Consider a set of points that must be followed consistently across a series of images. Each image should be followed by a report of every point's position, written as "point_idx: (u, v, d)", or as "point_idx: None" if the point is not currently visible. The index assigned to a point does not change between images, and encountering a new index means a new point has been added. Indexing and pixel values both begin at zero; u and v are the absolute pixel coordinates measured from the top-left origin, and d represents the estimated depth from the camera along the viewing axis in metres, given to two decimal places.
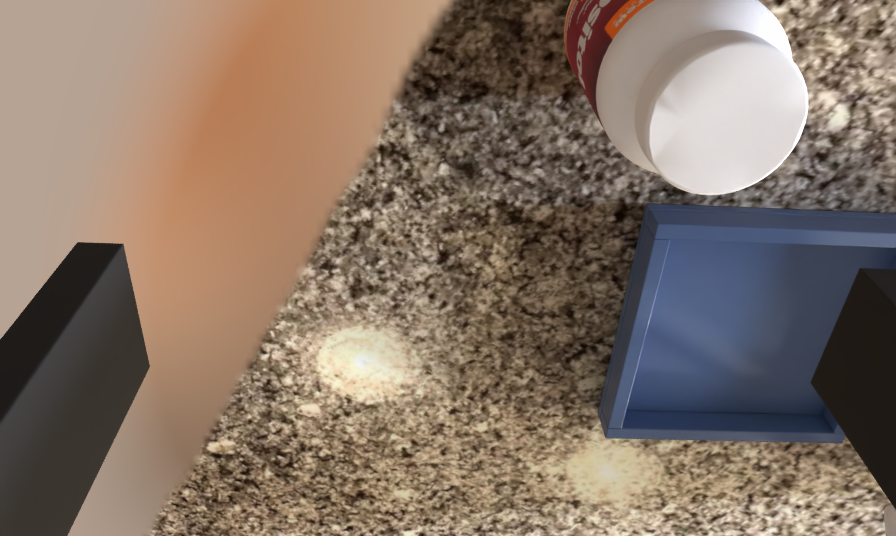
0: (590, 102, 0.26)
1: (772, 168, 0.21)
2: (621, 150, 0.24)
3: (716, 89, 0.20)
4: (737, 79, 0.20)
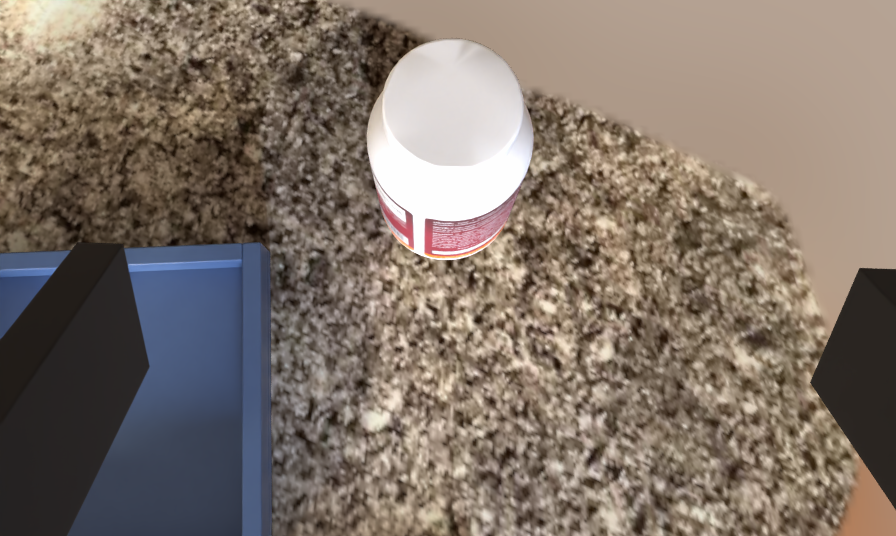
0: None
1: (415, 154, 0.23)
2: None
3: (482, 86, 0.24)
4: (492, 100, 0.23)
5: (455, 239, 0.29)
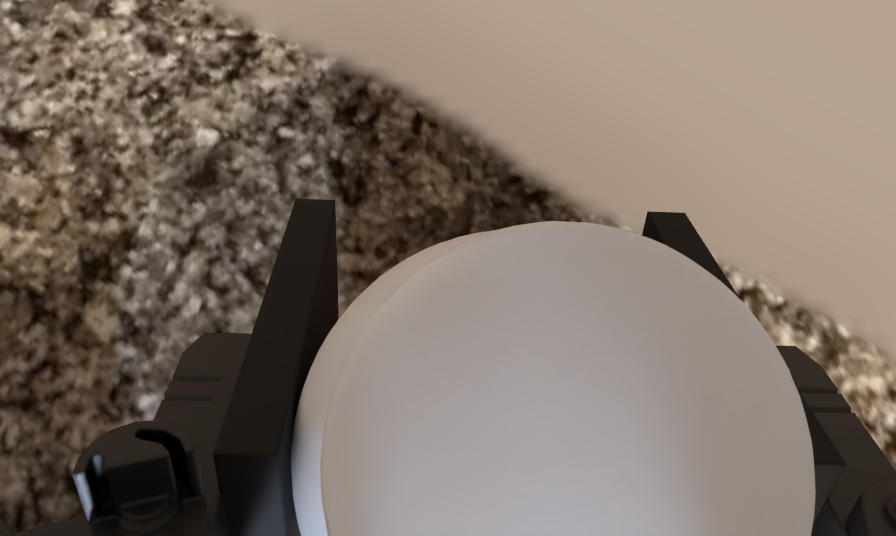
0: None
1: None
2: (368, 290, 0.10)
3: (676, 402, 0.07)
4: (710, 459, 0.07)
5: None
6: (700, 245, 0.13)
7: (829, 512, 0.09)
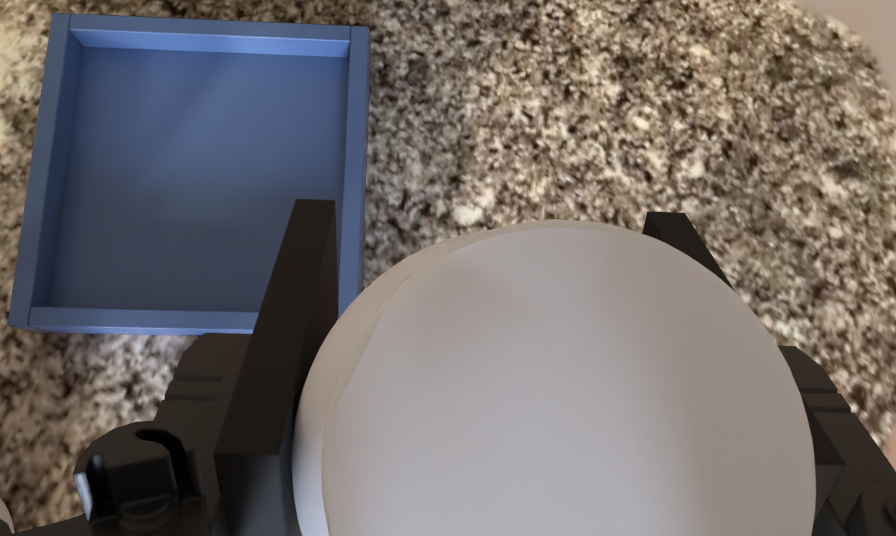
0: None
1: None
2: (369, 289, 0.10)
3: (677, 401, 0.07)
4: (710, 457, 0.07)
5: None
6: (700, 245, 0.13)
7: (830, 513, 0.09)
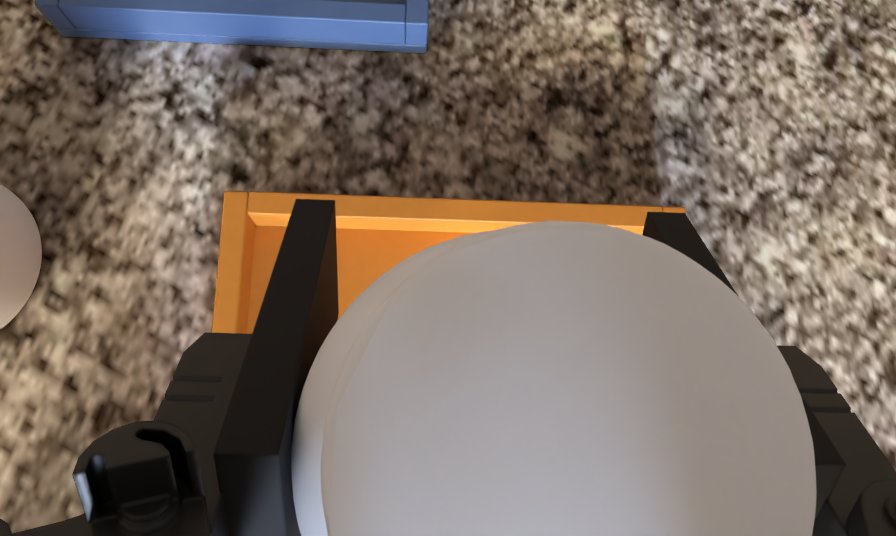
0: None
1: None
2: (369, 290, 0.10)
3: (676, 403, 0.07)
4: (711, 459, 0.07)
5: None
6: (700, 245, 0.13)
7: (829, 512, 0.09)
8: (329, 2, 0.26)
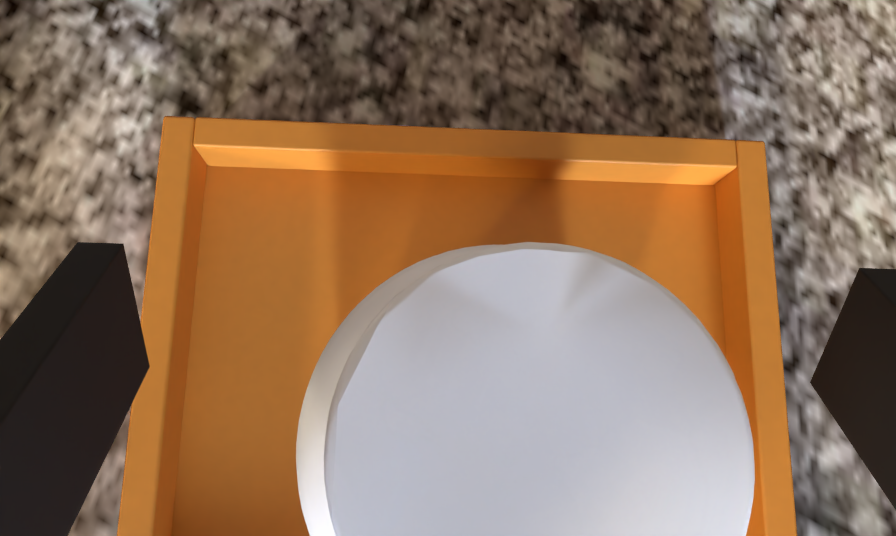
0: None
1: None
2: (366, 300, 0.11)
3: (633, 401, 0.08)
4: (662, 450, 0.08)
5: None
6: None
7: None
8: None
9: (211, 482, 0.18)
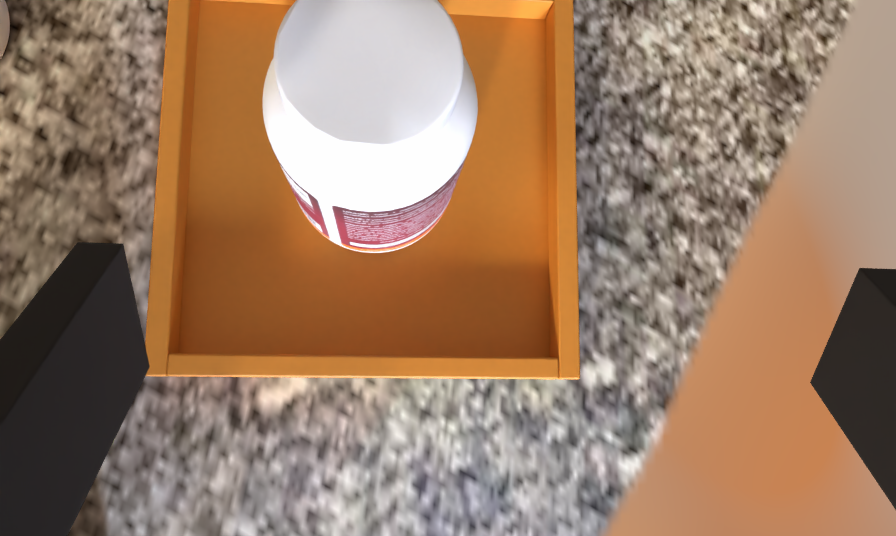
0: None
1: (313, 122, 0.17)
2: None
3: (410, 38, 0.18)
4: (422, 58, 0.18)
5: (375, 232, 0.23)
6: None
7: None
8: None
9: (210, 201, 0.28)
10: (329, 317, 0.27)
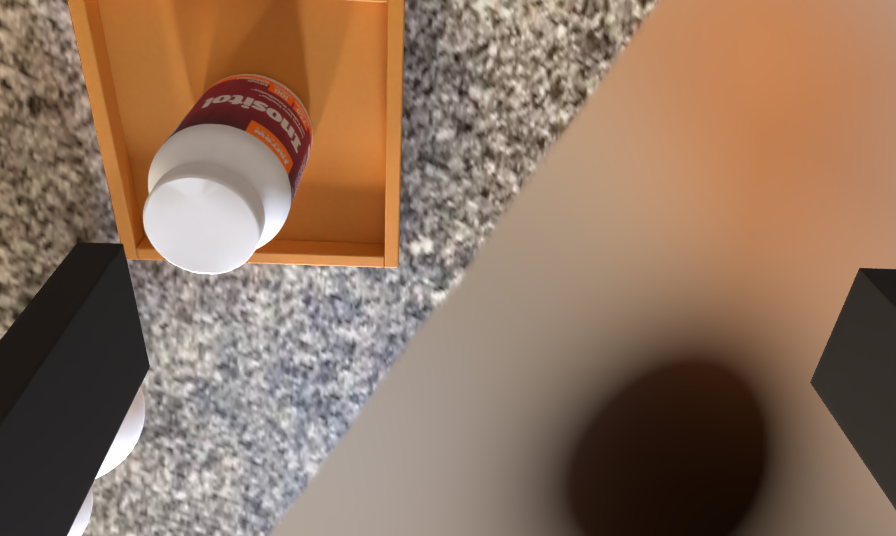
0: (192, 115, 0.32)
1: (174, 262, 0.30)
2: (161, 151, 0.30)
3: (224, 216, 0.29)
4: (233, 227, 0.29)
5: None
6: None
7: None
8: None
9: (141, 141, 0.39)
10: None
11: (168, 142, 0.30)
